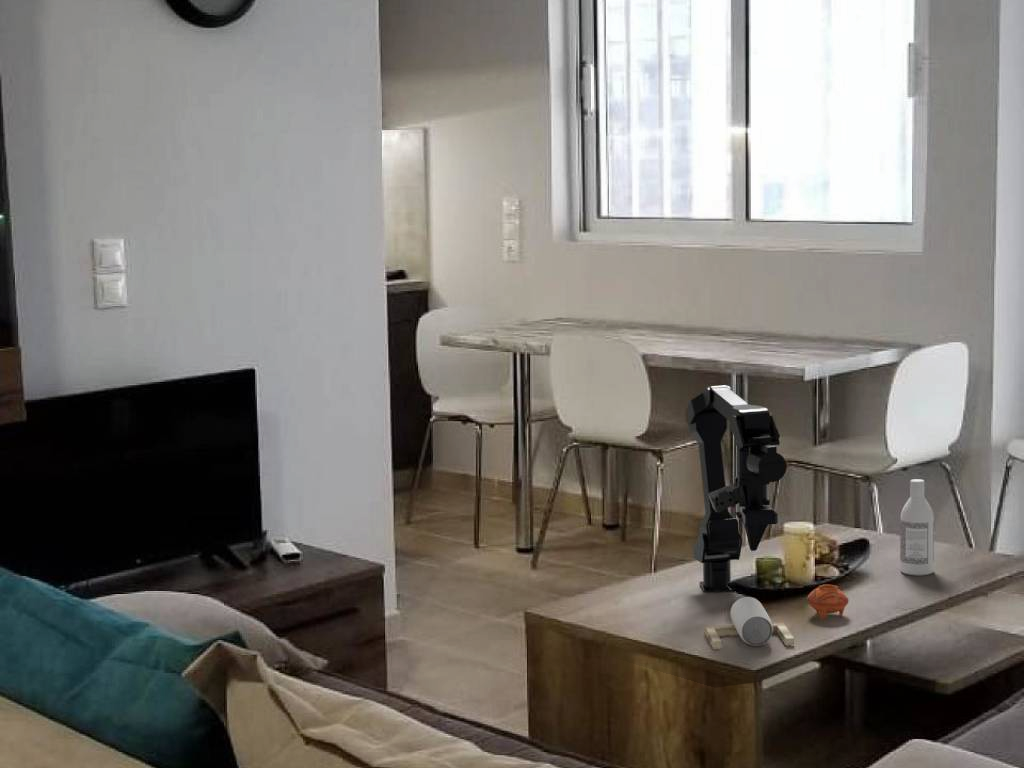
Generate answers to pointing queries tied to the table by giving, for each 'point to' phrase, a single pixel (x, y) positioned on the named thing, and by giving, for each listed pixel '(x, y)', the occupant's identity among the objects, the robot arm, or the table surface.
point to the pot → (827, 600)
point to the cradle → (717, 631)
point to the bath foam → (917, 533)
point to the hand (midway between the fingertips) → (753, 550)
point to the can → (751, 621)
